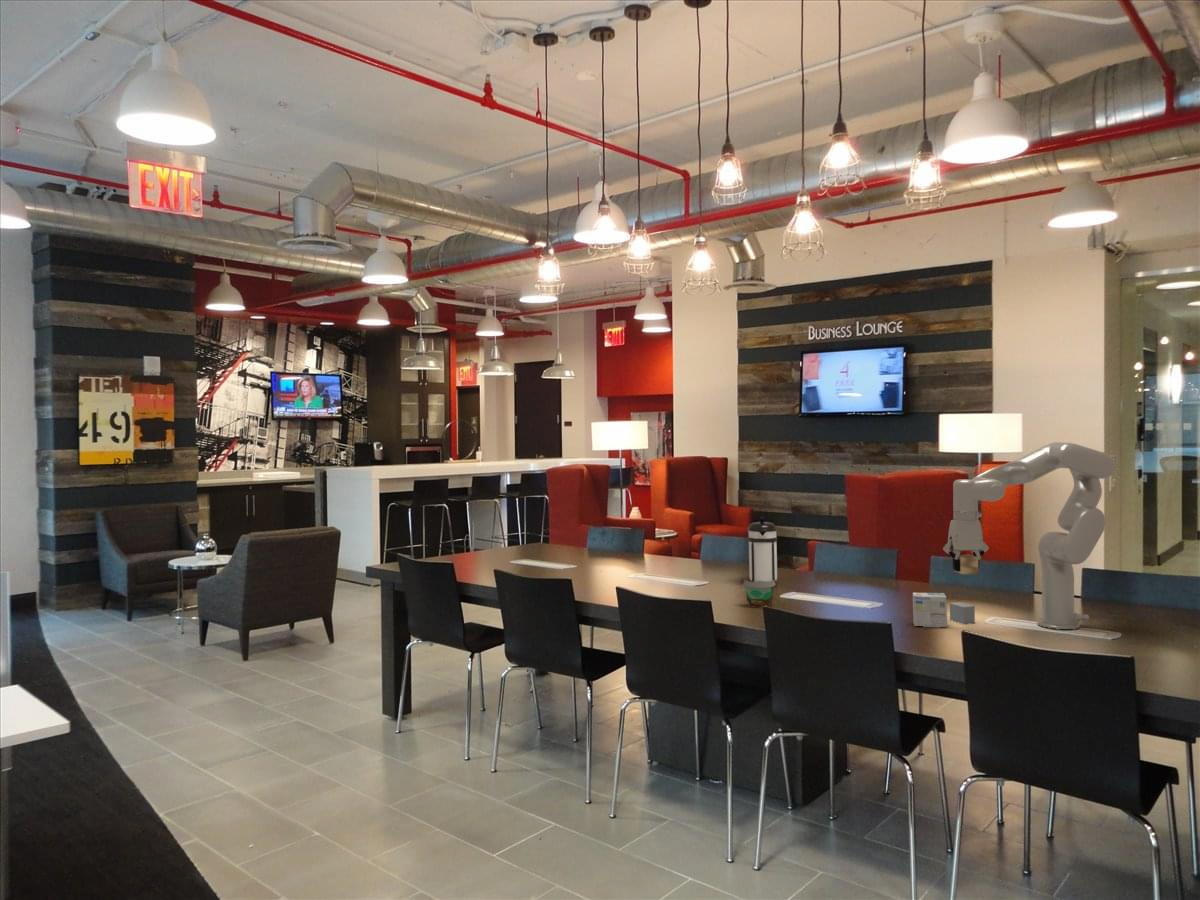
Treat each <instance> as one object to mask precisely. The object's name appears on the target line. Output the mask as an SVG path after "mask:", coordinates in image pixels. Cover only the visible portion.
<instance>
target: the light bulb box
mask: <svg viewBox="0 0 1200 900" xmlns="http://www.w3.org/2000/svg"><path fill="white" fill-rule="evenodd" d="M947 599H948V598H947V596H946V594H945V593H944V592H940V593H939V592H912V615H913V616H912V618H913V619H912V620H913V622H912V623H913V626H914V627H915V626H923V627H922V628H940V627H947V628H948V608H947V607H948V605H947V603H948V602H947Z"/></svg>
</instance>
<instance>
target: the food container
mask: <svg viewBox="0 0 1200 900" xmlns="http://www.w3.org/2000/svg"><path fill="white" fill-rule="evenodd" d="M743 586H744V587H745V593H746V602H747V606H748V605H750V606H755V607H762V606H765V605H767V606H771V605H772V606H773V599H774V590H775V589H774V586H775V582H774V580H773V581H770V582H764V581H754V582H751V581H749V580H746V579H744V580H743ZM775 587H776V586H775ZM750 606H749V607H750ZM772 606H771V607H772ZM755 607H754V608H755Z"/></svg>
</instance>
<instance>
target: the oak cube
mask: <svg viewBox="0 0 1200 900" xmlns="http://www.w3.org/2000/svg"><path fill="white" fill-rule="evenodd" d="M959 560H960V571H959V572H957V571H955V570H954V569H953V571H954V573H958V574H960V575H979V568H978V557H976V556H973V554H960V555H959Z"/></svg>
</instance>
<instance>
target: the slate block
mask: <svg viewBox="0 0 1200 900" xmlns="http://www.w3.org/2000/svg"><path fill="white" fill-rule="evenodd" d="M975 610H976V609H975V605H972V604H968V603H965V602H959V601H958V602H950V603H949V620H950V621H951V620H953V621H952V622H955V621H956V623H958V622H959V624H961V623H962V624H961V625H969V624H968V623H973V624H975V623H976V622H975V621H976V618H975V617H976V616H975V615H976V612H975Z"/></svg>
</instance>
